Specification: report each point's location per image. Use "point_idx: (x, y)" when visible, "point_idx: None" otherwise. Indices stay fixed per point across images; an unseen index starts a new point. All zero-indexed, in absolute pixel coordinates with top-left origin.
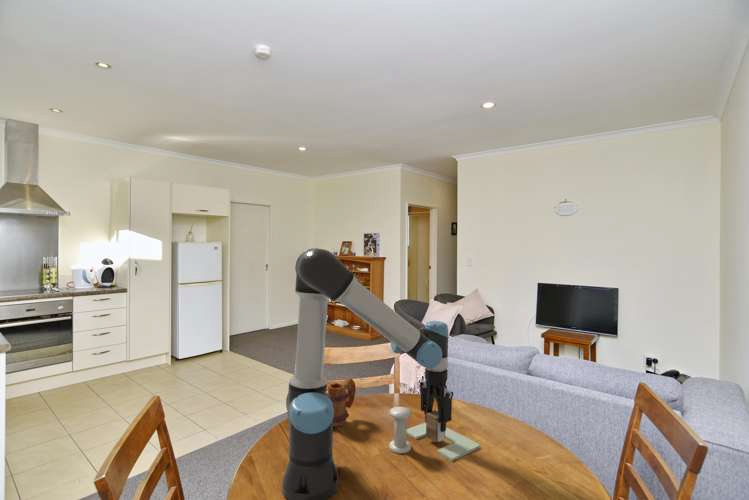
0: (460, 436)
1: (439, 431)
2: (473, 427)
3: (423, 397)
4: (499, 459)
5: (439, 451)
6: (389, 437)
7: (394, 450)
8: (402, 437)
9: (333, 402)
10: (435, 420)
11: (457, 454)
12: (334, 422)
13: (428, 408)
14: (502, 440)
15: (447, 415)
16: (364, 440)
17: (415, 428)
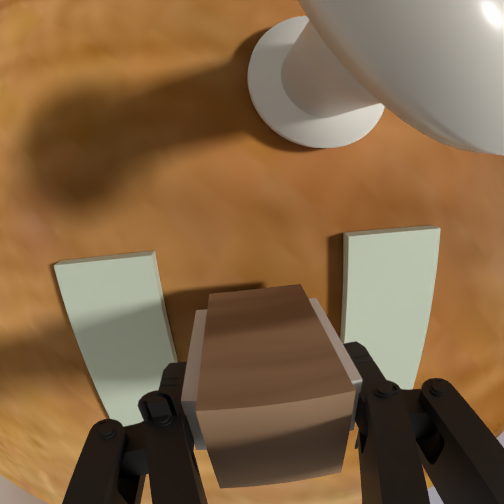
0: None
1: (190, 353)
2: (264, 487)
3: (486, 488)
4: (40, 415)
5: (136, 257)
6: None
7: (291, 19)
8: (296, 40)
9: None
10: (206, 391)
11: (76, 318)
12: None
13: (372, 445)
14: (144, 491)
15: (79, 480)
16: None
17: (416, 295)
